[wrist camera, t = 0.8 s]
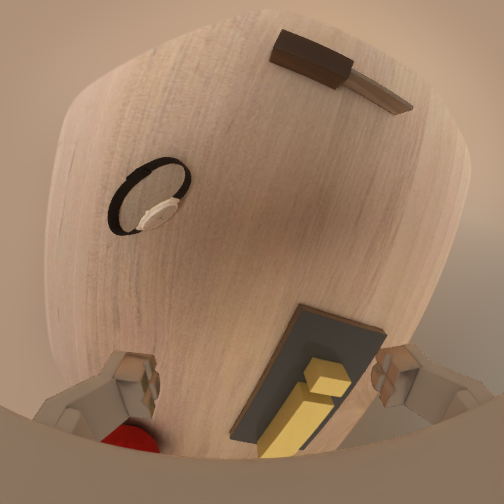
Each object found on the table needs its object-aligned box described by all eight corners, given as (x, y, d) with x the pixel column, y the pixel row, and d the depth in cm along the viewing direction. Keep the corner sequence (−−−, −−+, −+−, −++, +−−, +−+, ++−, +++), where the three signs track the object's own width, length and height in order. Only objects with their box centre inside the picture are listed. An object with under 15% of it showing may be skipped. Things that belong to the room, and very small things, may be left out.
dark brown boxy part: (277, 44, 19) (282, 28, 16) (398, 104, 21) (415, 98, 18) (268, 61, 20) (273, 47, 17) (392, 122, 21) (410, 117, 18)
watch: (136, 246, 23) (121, 257, 20) (105, 203, 22) (85, 209, 18) (206, 188, 22) (200, 191, 19) (171, 143, 21) (160, 138, 18)
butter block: (297, 380, 26) (303, 401, 23) (327, 386, 27) (334, 405, 24) (256, 441, 29) (258, 460, 26) (282, 445, 29) (285, 463, 26)
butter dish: (299, 303, 25) (301, 309, 24) (382, 329, 26) (387, 335, 25) (229, 432, 29) (229, 439, 28) (302, 443, 31) (303, 450, 30)
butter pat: (312, 356, 25) (320, 376, 22) (342, 363, 26) (351, 382, 23) (303, 372, 26) (309, 392, 23) (332, 378, 26) (341, 397, 23)
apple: (92, 404, 28) (61, 465, 17) (162, 414, 28) (143, 487, 18) (115, 447, 30) (96, 503, 20) (176, 457, 31) (167, 519, 20)
